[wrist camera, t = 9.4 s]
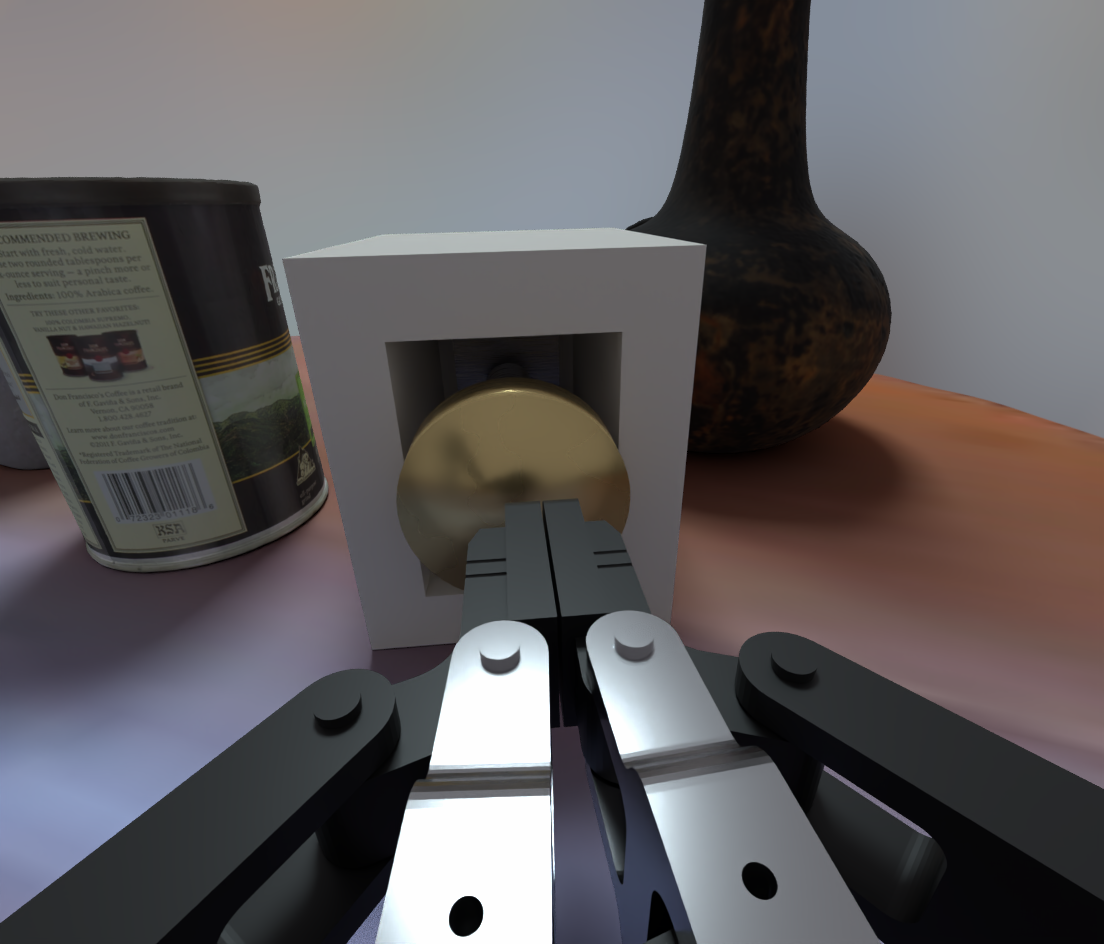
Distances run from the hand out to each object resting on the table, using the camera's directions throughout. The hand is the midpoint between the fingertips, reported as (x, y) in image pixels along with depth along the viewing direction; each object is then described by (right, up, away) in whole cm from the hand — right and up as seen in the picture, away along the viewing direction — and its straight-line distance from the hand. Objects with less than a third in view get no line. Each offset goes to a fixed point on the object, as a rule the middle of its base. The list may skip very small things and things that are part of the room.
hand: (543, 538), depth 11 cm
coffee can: (-16, -1, +15) cm, 22 cm away
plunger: (-1, 0, +9) cm, 9 cm away
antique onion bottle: (+10, +4, +24) cm, 26 cm away
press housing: (-1, -2, +12) cm, 12 cm away
